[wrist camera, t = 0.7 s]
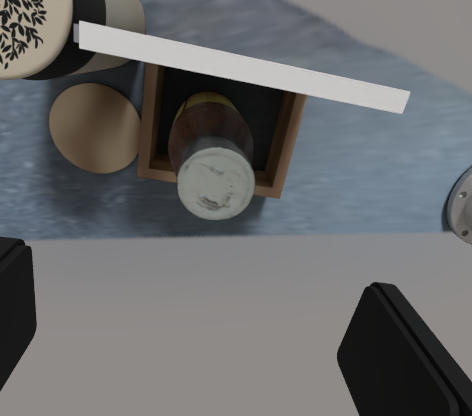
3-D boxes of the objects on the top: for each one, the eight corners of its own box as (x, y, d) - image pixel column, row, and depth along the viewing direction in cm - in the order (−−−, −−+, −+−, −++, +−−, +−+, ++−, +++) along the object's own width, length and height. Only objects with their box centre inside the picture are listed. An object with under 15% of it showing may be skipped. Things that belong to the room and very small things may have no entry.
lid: (301, 69, 33) (410, 91, 15) (299, 80, 34) (402, 114, 16) (148, 36, 31) (64, 17, 13) (147, 48, 32) (64, 45, 13)
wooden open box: (299, 69, 33) (320, 73, 27) (271, 181, 38) (283, 207, 32) (156, 38, 31) (143, 35, 25) (145, 160, 36) (132, 184, 30)
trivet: (146, 92, 33) (145, 93, 33) (139, 177, 37) (138, 179, 36) (50, 74, 32) (47, 74, 31) (52, 164, 36) (50, 165, 35)
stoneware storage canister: (158, -5, 30) (97, -71, 14) (130, 82, 33) (53, 113, 16) (66, -53, 28) (-133, -195, 12) (45, 44, 31) (-136, 37, 15)
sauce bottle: (202, 161, 37) (196, 268, 19) (165, 114, 34) (116, 184, 16) (252, 125, 35) (296, 202, 17) (216, 73, 33) (225, 101, 15)
